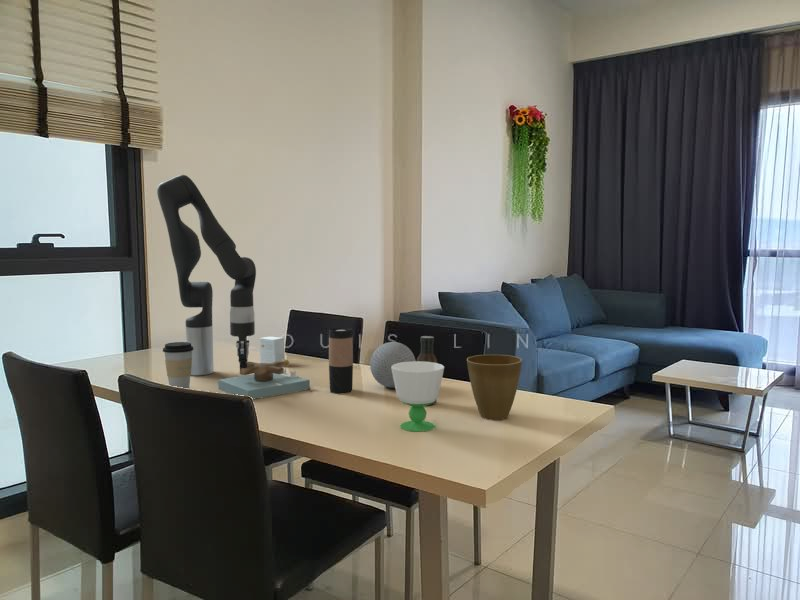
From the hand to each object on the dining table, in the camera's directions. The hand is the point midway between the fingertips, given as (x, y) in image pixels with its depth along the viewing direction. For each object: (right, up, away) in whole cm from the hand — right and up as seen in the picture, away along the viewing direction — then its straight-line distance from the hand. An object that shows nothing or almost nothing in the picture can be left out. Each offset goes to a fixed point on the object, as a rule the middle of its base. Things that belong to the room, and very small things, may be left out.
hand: (243, 374), depth 197 cm
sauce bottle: (+58, -7, -14) cm, 60 cm away
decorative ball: (+48, -5, +6) cm, 48 cm away
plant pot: (+76, -8, -28) cm, 81 cm away
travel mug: (+31, -6, +1) cm, 32 cm away
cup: (+55, -9, -37) cm, 67 cm away
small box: (0, -2, +44) cm, 44 cm away
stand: (+6, -5, +3) cm, 8 cm away
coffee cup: (-21, -6, +2) cm, 22 cm away
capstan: (+6, -2, +4) cm, 8 cm away
